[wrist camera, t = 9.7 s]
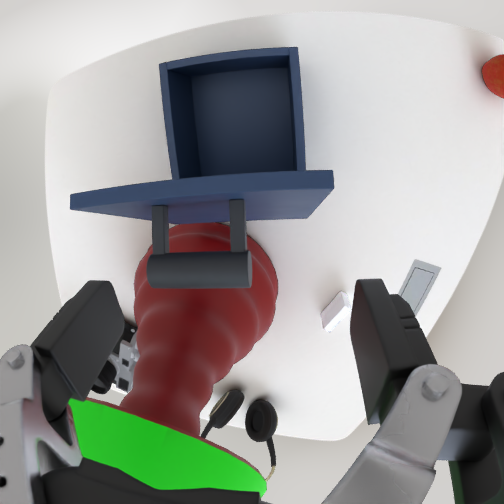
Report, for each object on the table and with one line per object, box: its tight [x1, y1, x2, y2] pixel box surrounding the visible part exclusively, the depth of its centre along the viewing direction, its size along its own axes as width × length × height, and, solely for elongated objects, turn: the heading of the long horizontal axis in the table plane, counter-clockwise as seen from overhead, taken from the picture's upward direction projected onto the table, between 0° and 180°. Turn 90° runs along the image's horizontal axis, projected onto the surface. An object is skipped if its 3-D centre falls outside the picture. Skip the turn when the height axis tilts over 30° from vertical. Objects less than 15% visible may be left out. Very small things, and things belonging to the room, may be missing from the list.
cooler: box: [159, 47, 306, 180], centre depth 30 cm, size 16×13×9 cm
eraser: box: [321, 291, 352, 332], centre depth 42 cm, size 1×5×4 cm, turn 150°
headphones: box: [201, 390, 278, 481], centre depth 46 cm, size 9×15×20 cm, turn 61°
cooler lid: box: [70, 170, 334, 289], centre depth 21 cm, size 16×13×5 cm
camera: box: [91, 322, 140, 394], centre depth 48 cm, size 18×10×10 cm
